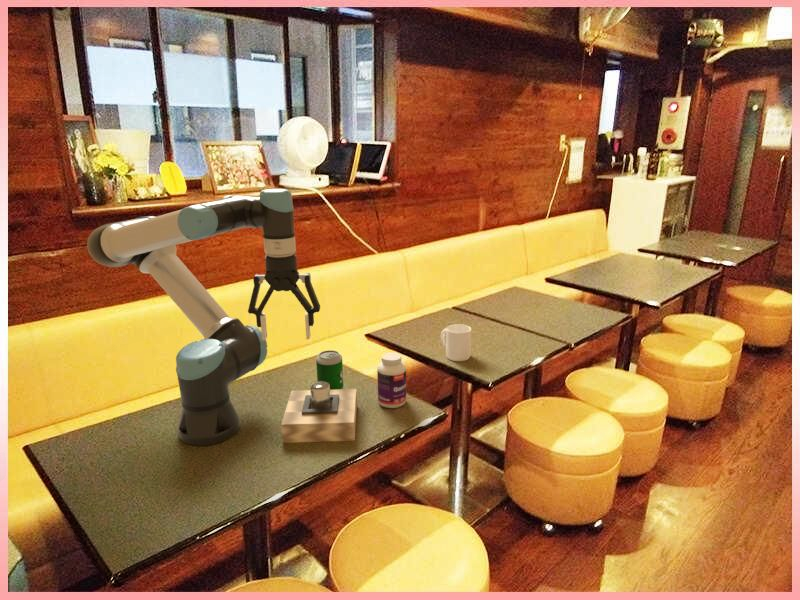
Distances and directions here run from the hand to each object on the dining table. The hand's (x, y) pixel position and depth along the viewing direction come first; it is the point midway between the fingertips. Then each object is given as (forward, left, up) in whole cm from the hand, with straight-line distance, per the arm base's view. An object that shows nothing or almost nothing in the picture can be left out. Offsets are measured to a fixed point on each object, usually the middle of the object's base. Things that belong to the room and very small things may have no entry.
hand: (286, 337), depth 144 cm
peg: (+8, -2, -19) cm, 20 cm away
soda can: (+9, +16, -24) cm, 30 cm away
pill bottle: (+27, +8, -24) cm, 37 cm away
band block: (+8, -2, -24) cm, 25 cm away
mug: (+49, +40, -24) cm, 68 cm away
